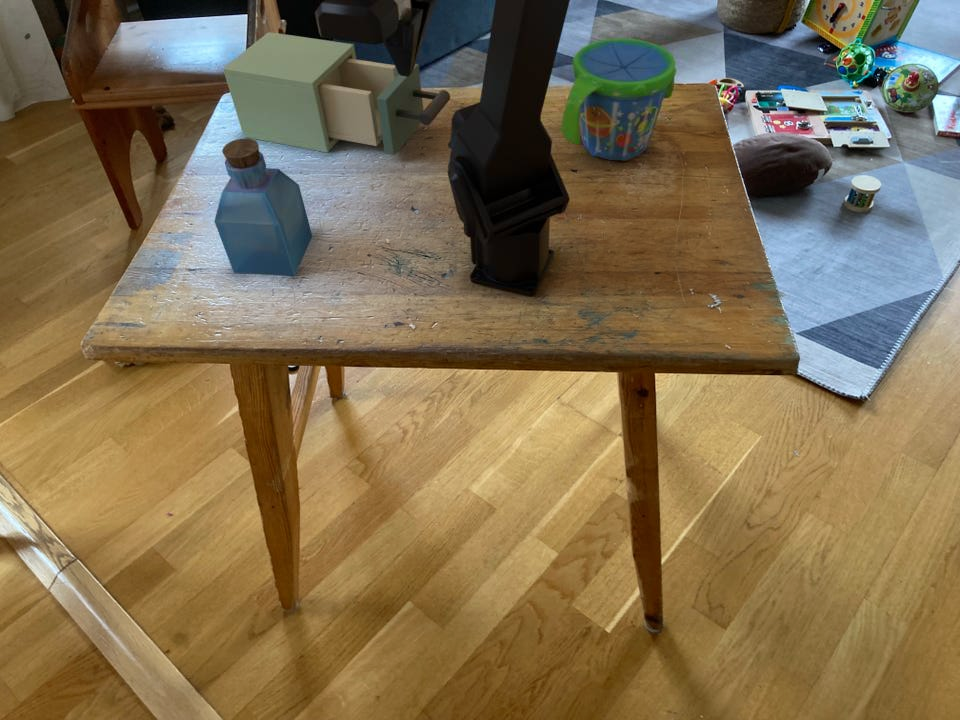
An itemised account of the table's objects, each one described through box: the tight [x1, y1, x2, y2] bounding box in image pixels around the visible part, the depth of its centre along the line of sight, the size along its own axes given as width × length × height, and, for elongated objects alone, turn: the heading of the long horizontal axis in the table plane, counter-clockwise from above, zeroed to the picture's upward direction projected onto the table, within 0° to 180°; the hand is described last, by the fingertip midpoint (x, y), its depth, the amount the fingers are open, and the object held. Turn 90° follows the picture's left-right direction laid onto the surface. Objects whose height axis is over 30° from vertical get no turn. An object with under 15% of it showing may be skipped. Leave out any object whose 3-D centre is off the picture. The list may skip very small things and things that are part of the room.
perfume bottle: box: [214, 137, 313, 277], centre depth 70 cm, size 6×6×12 cm
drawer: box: [317, 58, 451, 156], centre depth 85 cm, size 15×8×7 cm, turn 69°
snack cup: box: [560, 38, 677, 162], centre depth 81 cm, size 16×10×10 cm
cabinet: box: [222, 31, 357, 153], centre depth 88 cm, size 12×10×9 cm
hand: (406, 74), depth 74 cm, fingers closed
